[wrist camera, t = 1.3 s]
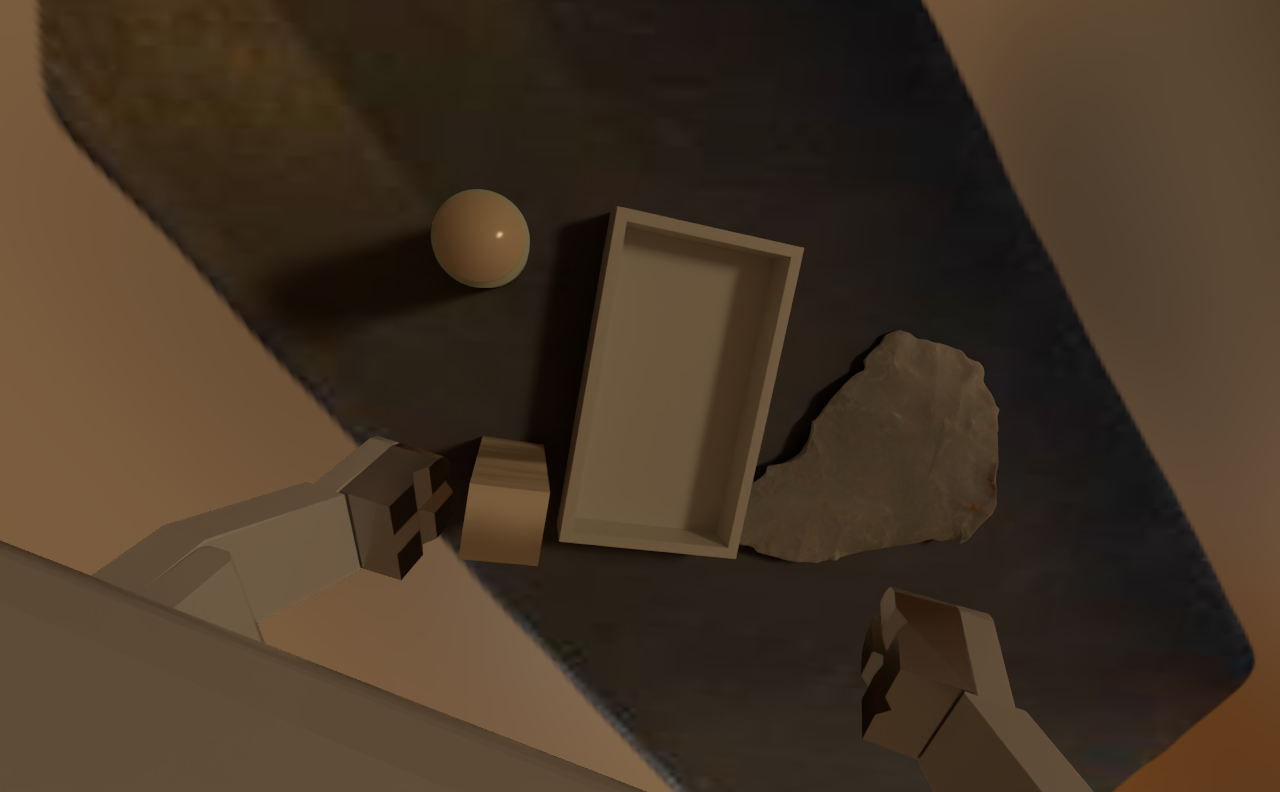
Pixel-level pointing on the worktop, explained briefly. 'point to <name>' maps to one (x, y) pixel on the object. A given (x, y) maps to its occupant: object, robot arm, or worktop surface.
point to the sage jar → (480, 239)
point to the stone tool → (885, 460)
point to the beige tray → (675, 385)
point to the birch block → (506, 503)
